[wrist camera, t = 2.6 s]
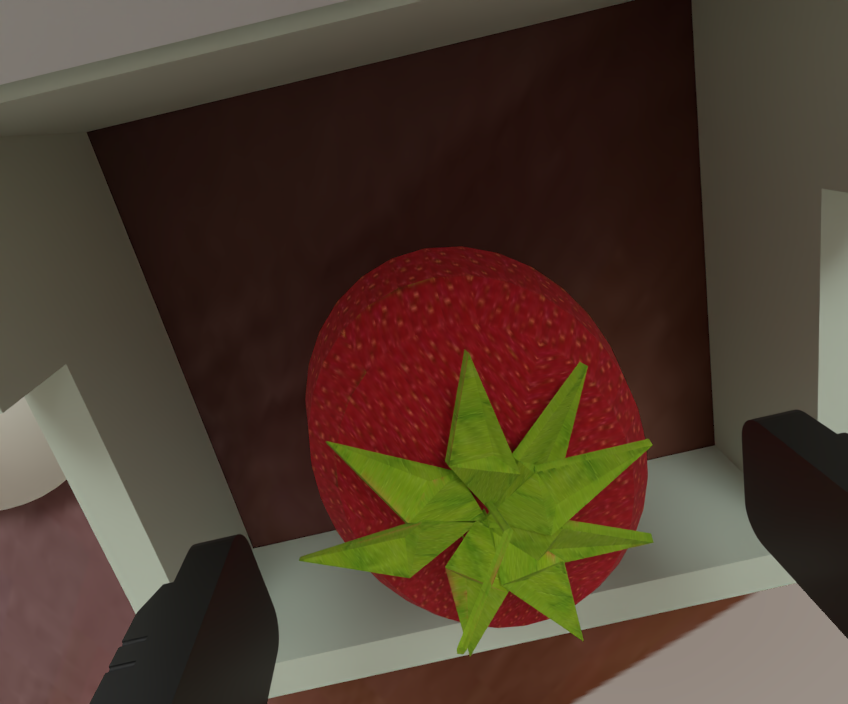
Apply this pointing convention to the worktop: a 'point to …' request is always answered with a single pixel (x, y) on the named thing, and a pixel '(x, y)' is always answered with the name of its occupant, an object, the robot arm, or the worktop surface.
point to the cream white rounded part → (25, 458)
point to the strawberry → (474, 440)
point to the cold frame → (340, 50)
